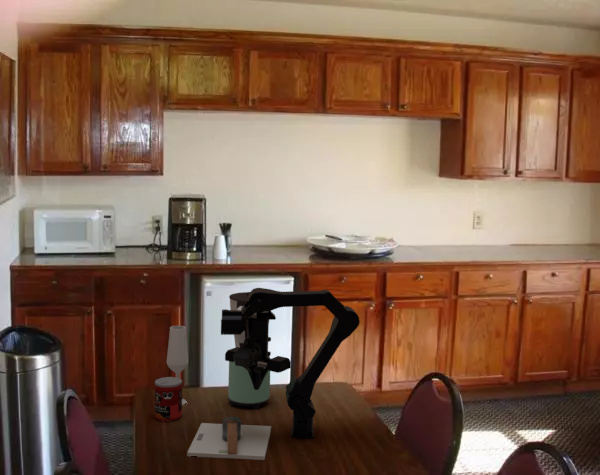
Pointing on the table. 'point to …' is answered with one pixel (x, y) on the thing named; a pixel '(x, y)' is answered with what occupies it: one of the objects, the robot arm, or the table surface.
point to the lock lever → (231, 432)
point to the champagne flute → (177, 351)
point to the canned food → (168, 398)
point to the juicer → (239, 377)
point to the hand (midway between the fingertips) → (256, 389)
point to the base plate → (214, 446)
